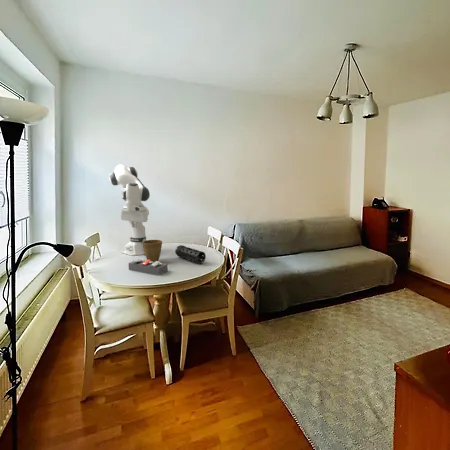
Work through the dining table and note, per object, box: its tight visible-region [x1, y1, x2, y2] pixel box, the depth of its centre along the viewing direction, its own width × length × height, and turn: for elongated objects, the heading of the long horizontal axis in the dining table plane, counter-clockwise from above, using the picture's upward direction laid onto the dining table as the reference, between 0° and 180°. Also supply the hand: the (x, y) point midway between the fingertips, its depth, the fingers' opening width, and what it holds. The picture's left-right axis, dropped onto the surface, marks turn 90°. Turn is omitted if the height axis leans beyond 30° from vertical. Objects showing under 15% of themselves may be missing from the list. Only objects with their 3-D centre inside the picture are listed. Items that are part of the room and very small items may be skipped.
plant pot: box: [142, 239, 163, 262], centre depth 229 cm, size 15×15×16 cm
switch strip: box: [128, 259, 169, 276], centre depth 209 cm, size 26×10×5 cm, turn 65°
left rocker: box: [132, 259, 143, 263], centre depth 211 cm, size 3×6×2 cm, turn 155°
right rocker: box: [151, 260, 161, 267], centre depth 204 cm, size 3×6×2 cm, turn 155°
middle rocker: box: [142, 258, 151, 265], centre depth 207 cm, size 3×6×2 cm, turn 156°
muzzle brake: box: [174, 244, 207, 265], centre depth 233 cm, size 10×28×10 cm, turn 45°
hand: (134, 227), depth 202 cm, fingers closed
